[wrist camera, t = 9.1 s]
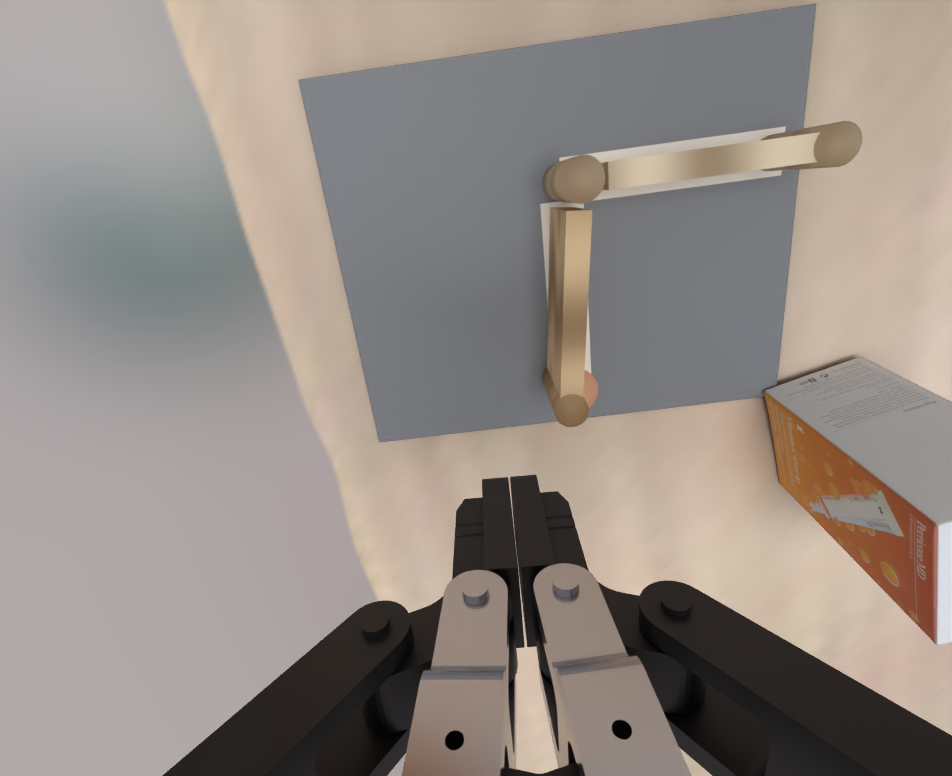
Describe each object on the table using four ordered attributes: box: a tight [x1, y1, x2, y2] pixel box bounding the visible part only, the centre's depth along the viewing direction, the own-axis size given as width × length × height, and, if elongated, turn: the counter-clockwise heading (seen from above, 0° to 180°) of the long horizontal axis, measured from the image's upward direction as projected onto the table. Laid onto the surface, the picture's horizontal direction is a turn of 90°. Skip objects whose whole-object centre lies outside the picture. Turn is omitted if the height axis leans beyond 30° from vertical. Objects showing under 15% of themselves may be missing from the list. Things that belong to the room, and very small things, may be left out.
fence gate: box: [542, 207, 592, 427], centre depth 27 cm, size 11×2×5 cm, turn 2°
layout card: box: [298, 4, 816, 442], centre depth 29 cm, size 26×21×1 cm
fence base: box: [542, 121, 862, 204], centre depth 24 cm, size 13×2×6 cm, turn 97°
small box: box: [764, 357, 952, 645], centre depth 27 cm, size 8×6×13 cm
